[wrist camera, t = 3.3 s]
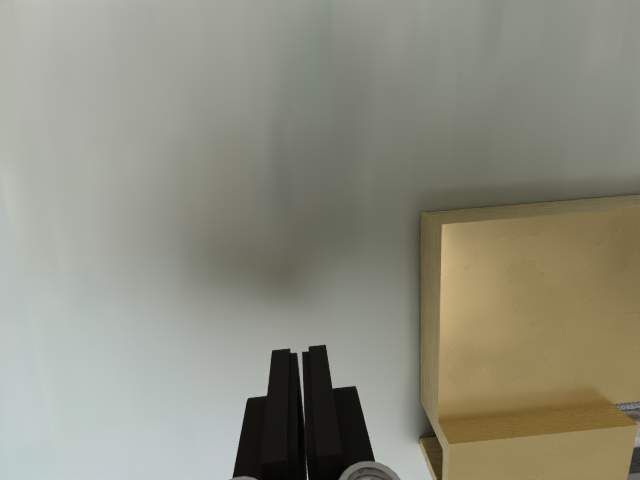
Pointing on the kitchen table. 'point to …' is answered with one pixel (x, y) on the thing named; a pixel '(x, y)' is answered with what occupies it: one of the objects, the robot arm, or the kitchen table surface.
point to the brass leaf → (531, 339)
